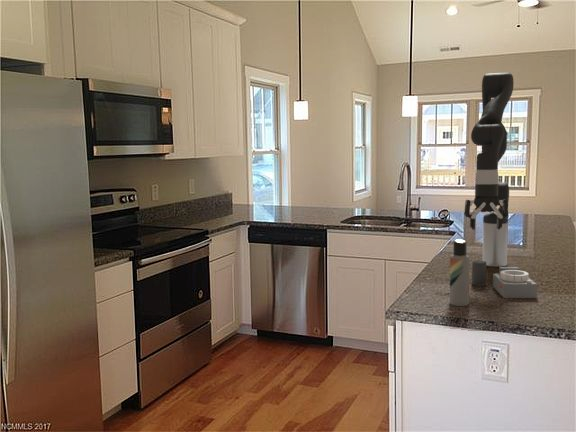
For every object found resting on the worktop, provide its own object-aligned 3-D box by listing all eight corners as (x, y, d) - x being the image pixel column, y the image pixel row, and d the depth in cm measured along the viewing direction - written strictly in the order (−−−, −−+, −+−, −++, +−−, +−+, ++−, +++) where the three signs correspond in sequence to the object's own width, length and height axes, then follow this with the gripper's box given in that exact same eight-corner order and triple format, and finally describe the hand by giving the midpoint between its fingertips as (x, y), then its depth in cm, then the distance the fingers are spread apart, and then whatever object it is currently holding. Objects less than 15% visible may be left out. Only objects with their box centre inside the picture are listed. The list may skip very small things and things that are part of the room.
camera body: (491, 286, 188) (491, 266, 187) (523, 286, 187) (523, 266, 186) (501, 297, 174) (502, 276, 173) (536, 298, 173) (537, 276, 172)
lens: (470, 282, 194) (471, 260, 193) (484, 282, 193) (484, 260, 192) (473, 286, 189) (473, 263, 188) (487, 286, 189) (487, 263, 188)
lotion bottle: (465, 300, 172) (466, 238, 169) (471, 306, 166) (472, 241, 164) (447, 301, 172) (447, 238, 169) (453, 306, 166) (454, 241, 164)
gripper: (504, 182, 192) (503, 227, 194) (463, 182, 194) (462, 228, 195) (511, 183, 185) (510, 230, 186) (467, 183, 186) (467, 230, 188)
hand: (485, 229), depth 191 cm, fingers open, 8 cm apart
